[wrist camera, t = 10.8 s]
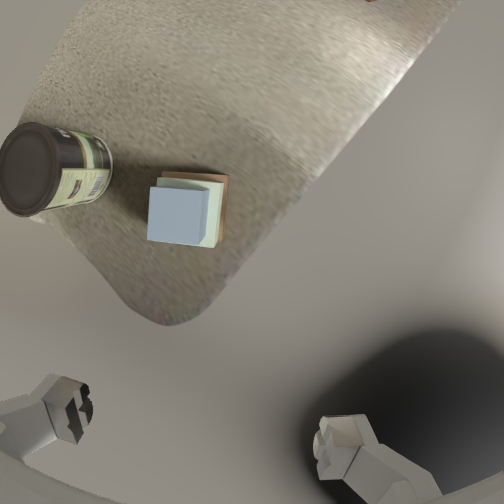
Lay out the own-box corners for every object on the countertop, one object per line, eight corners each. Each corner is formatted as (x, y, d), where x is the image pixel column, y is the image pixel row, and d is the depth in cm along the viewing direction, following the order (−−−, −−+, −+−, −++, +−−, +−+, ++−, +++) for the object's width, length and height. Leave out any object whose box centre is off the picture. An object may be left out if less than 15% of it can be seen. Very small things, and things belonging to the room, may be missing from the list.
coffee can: (61, 133, 37) (1, 123, 24) (119, 135, 38) (65, 121, 24) (53, 200, 40) (-8, 212, 26) (108, 208, 40) (53, 223, 26)
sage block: (166, 177, 36) (157, 177, 32) (224, 182, 36) (220, 183, 32) (161, 234, 37) (152, 240, 33) (217, 240, 38) (213, 247, 34)
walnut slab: (170, 171, 39) (161, 171, 36) (229, 175, 40) (227, 175, 36) (166, 230, 41) (158, 235, 37) (224, 235, 42) (221, 241, 38)
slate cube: (164, 185, 32) (150, 186, 27) (210, 189, 32) (202, 191, 27) (161, 230, 33) (147, 239, 28) (205, 235, 33) (198, 245, 28)
